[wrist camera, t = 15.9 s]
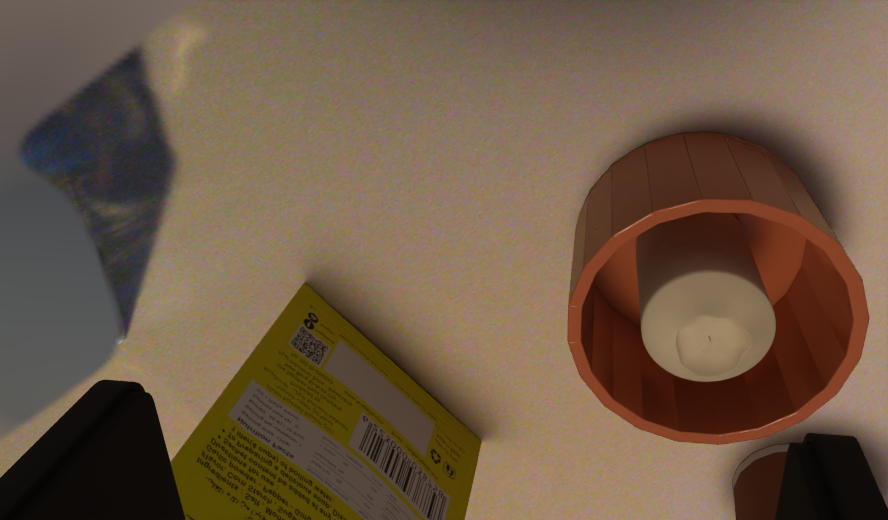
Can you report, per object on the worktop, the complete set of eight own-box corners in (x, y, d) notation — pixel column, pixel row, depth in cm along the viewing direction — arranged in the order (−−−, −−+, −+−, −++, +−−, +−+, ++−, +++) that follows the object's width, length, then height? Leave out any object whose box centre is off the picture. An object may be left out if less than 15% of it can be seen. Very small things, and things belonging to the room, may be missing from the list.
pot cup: (573, 334, 45) (565, 433, 37) (578, 131, 39) (570, 196, 31) (796, 346, 42) (839, 455, 34) (834, 132, 37) (895, 203, 29)
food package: (299, 287, 47) (114, 533, 29) (310, 276, 46) (129, 520, 29) (475, 445, 50) (404, 756, 32) (488, 436, 49) (421, 747, 32)
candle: (627, 205, 40) (632, 298, 31) (739, 187, 39) (777, 279, 30) (643, 296, 42) (652, 407, 33) (749, 282, 41) (788, 395, 32)
